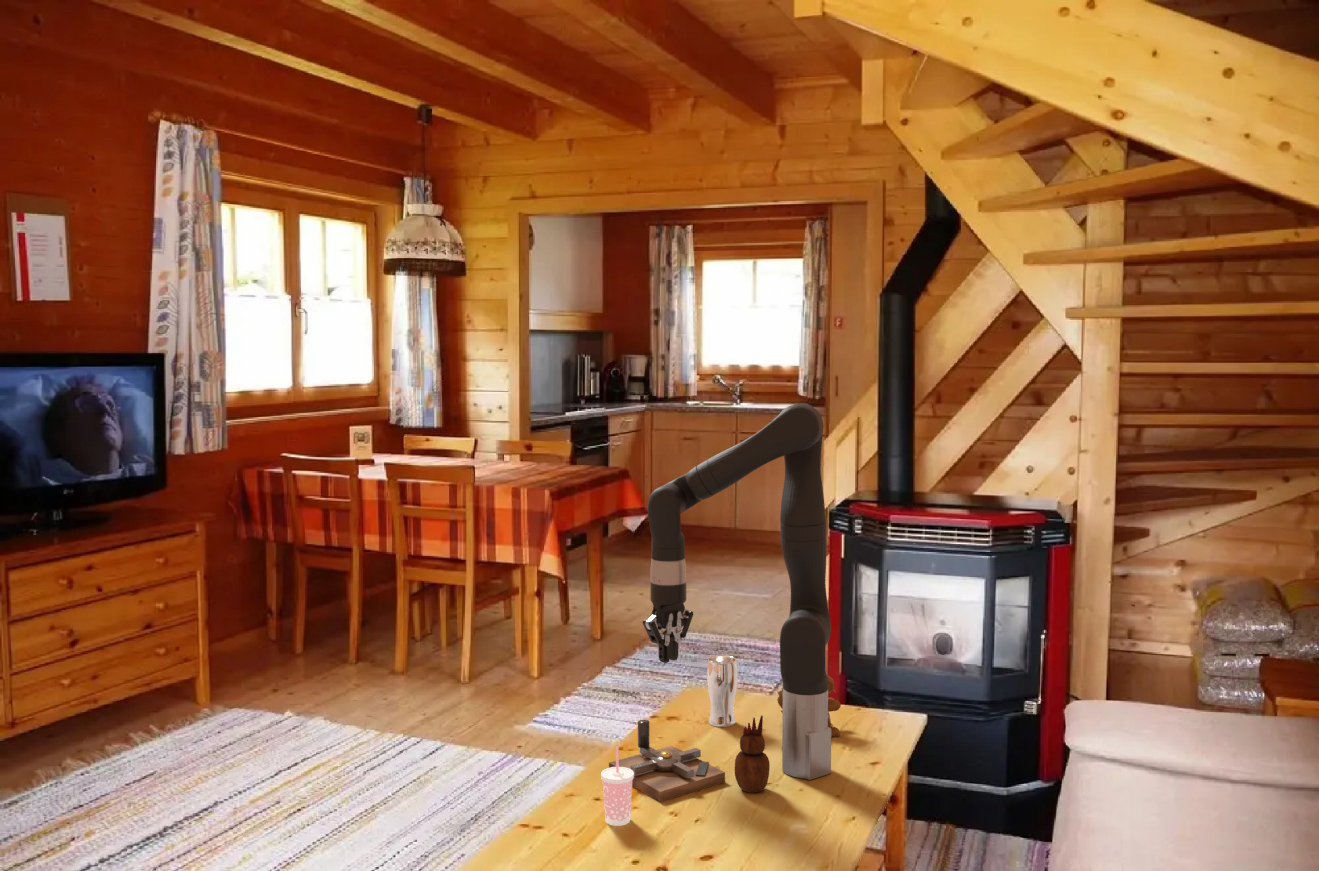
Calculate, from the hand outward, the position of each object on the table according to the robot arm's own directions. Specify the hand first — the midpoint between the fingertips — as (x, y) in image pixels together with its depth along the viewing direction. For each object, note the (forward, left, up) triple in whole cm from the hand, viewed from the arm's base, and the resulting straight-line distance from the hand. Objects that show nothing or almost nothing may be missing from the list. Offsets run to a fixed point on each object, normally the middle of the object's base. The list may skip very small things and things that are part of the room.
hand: (668, 660), depth 229 cm
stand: (-8, +6, -21) cm, 23 cm away
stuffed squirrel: (-5, -36, -21) cm, 42 cm away
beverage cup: (-19, +25, -21) cm, 38 cm away
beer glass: (+10, -23, -21) cm, 33 cm away
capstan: (-7, +6, -19) cm, 21 cm away
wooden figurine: (-23, -4, -21) cm, 32 cm away
